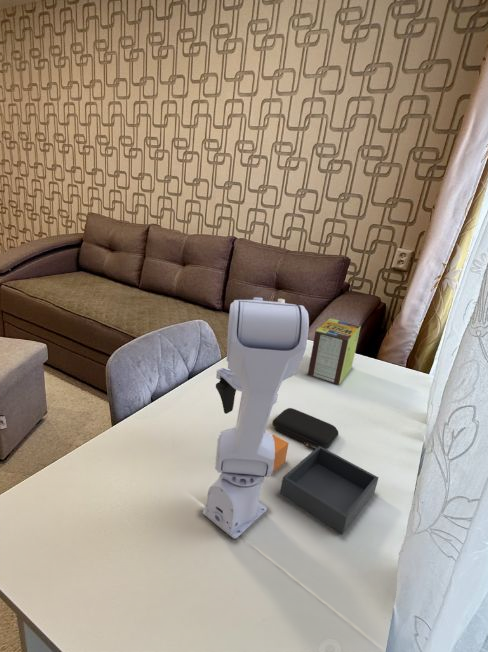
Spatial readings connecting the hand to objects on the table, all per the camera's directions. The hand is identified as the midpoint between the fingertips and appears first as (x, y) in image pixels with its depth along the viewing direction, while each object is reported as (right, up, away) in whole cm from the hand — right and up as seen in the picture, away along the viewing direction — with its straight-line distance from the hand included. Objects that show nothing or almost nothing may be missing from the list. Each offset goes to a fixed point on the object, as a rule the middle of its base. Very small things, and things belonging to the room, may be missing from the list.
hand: (241, 419), depth 84 cm
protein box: (+32, +6, +46) cm, 56 cm away
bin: (+17, -14, -6) cm, 22 cm away
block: (+7, -10, +1) cm, 12 cm away
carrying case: (+16, -6, +13) cm, 21 cm away
